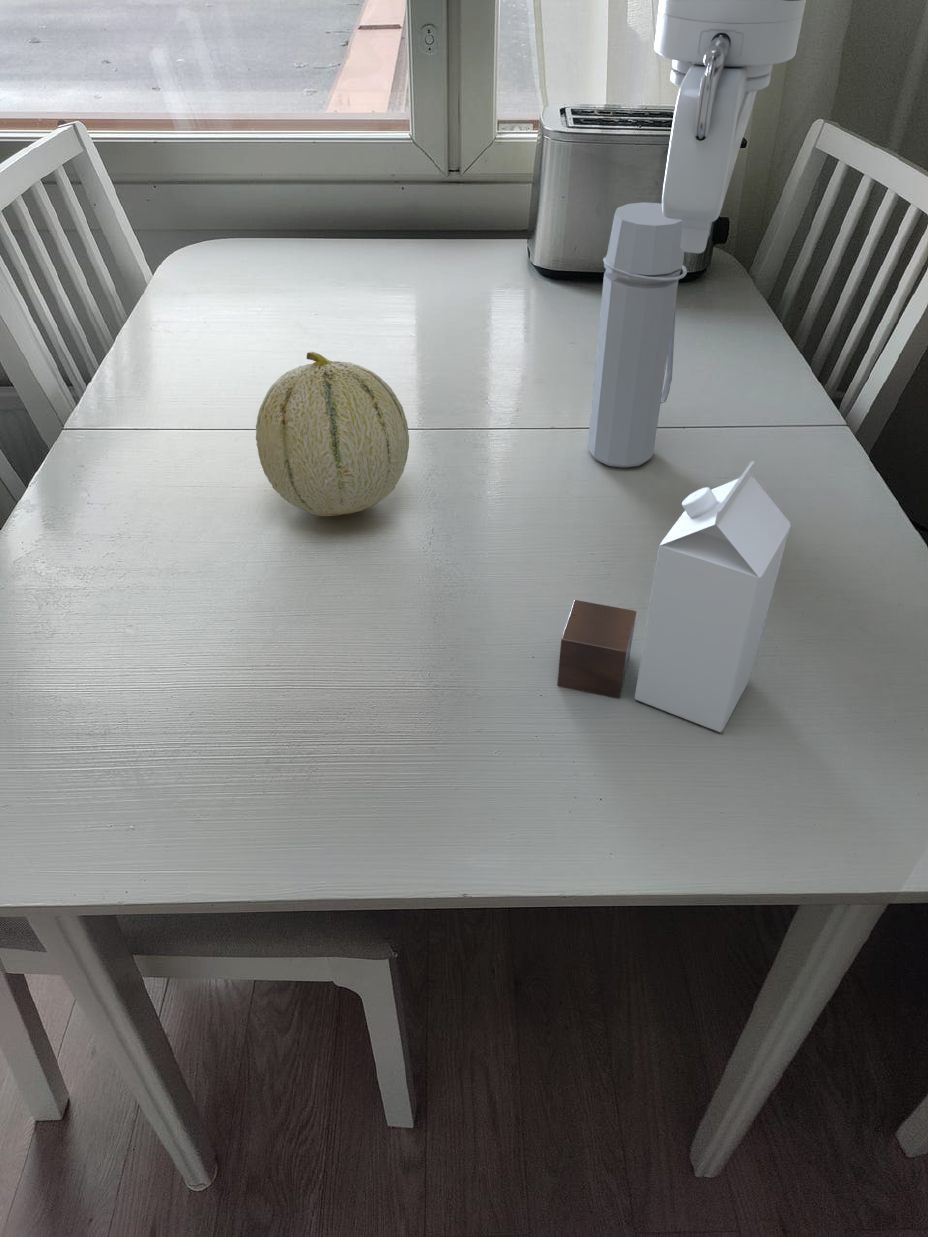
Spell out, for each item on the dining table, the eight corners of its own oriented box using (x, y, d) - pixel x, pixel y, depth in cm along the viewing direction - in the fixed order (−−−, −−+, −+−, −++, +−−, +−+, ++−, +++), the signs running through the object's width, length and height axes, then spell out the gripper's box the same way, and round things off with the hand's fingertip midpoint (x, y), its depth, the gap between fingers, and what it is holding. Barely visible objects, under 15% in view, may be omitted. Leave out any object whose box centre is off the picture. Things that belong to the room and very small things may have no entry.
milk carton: (750, 678, 77) (804, 474, 64) (721, 735, 72) (773, 527, 60) (666, 648, 79) (703, 447, 67) (633, 701, 75) (665, 495, 62)
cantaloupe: (336, 565, 88) (320, 419, 78) (235, 507, 95) (208, 367, 86) (443, 498, 97) (441, 359, 87) (343, 449, 104) (330, 315, 94)
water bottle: (615, 480, 99) (644, 233, 83) (571, 446, 104) (590, 208, 88) (683, 456, 103) (724, 215, 86) (637, 425, 108) (668, 192, 92)
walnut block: (629, 657, 79) (636, 610, 75) (619, 698, 75) (626, 651, 72) (569, 645, 80) (574, 599, 76) (557, 686, 76) (561, 639, 73)
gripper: (771, 57, 52) (726, 306, 61) (787, -1, 66) (749, 206, 75) (654, 50, 53) (626, 295, 62) (695, -5, 68) (668, 199, 77)
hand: (694, 246), depth 69 cm, fingers closed
